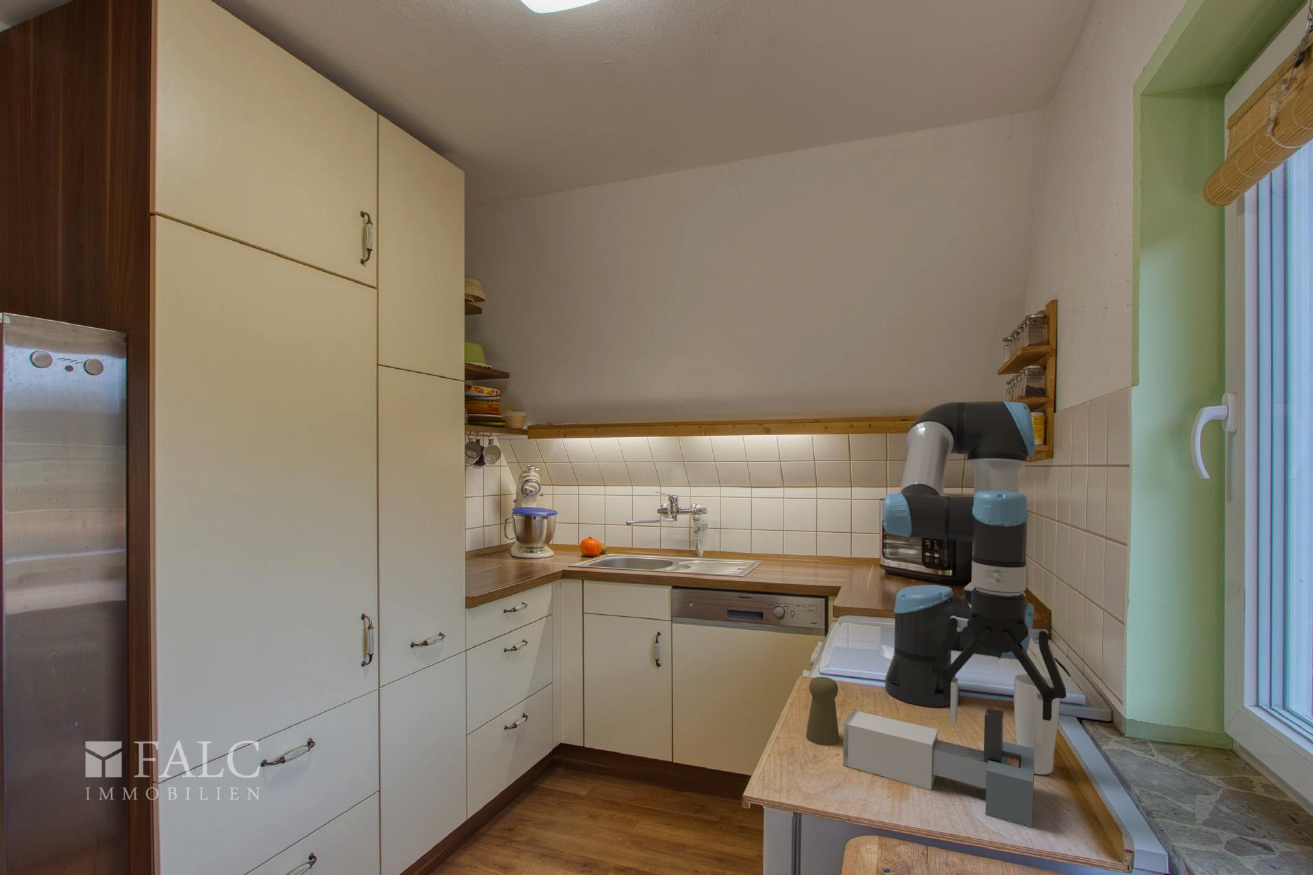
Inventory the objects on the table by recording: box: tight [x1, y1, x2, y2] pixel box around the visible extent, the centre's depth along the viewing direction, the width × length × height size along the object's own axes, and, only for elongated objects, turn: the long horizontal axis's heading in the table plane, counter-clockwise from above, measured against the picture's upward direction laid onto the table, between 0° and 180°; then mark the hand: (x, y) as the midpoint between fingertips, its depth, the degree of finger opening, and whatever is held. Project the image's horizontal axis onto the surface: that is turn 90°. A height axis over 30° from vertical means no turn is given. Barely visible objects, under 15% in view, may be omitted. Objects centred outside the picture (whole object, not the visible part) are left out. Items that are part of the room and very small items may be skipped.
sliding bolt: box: [932, 707, 1019, 789], centre depth 105 cm, size 4×18×11 cm, turn 59°
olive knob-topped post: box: [805, 676, 840, 746], centre depth 122 cm, size 6×6×11 cm
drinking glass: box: [1013, 673, 1061, 776], centre depth 112 cm, size 7×7×15 cm
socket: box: [985, 741, 1035, 827], centre depth 101 cm, size 12×6×7 cm, turn 149°
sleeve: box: [842, 709, 939, 791], centre depth 111 cm, size 6×14×7 cm, turn 59°
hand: (995, 729), depth 102 cm, fingers open, 11 cm apart
